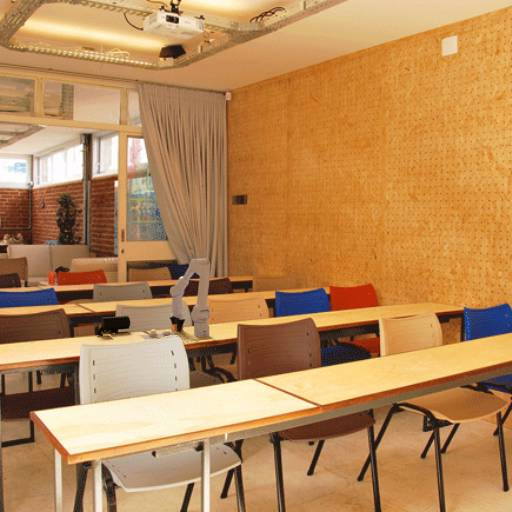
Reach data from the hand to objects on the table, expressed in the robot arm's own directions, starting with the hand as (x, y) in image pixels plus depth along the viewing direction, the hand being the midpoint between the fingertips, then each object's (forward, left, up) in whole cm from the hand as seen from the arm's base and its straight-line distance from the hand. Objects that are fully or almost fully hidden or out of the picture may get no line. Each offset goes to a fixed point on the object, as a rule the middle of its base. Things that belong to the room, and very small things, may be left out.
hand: (177, 330), depth 370 cm
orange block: (0, 0, -1) cm, 1 cm away
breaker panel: (-10, +14, -1) cm, 17 cm away
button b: (-10, +18, +1) cm, 21 cm away
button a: (-10, +10, 0) cm, 14 cm away
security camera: (+10, +35, -2) cm, 36 cm away
